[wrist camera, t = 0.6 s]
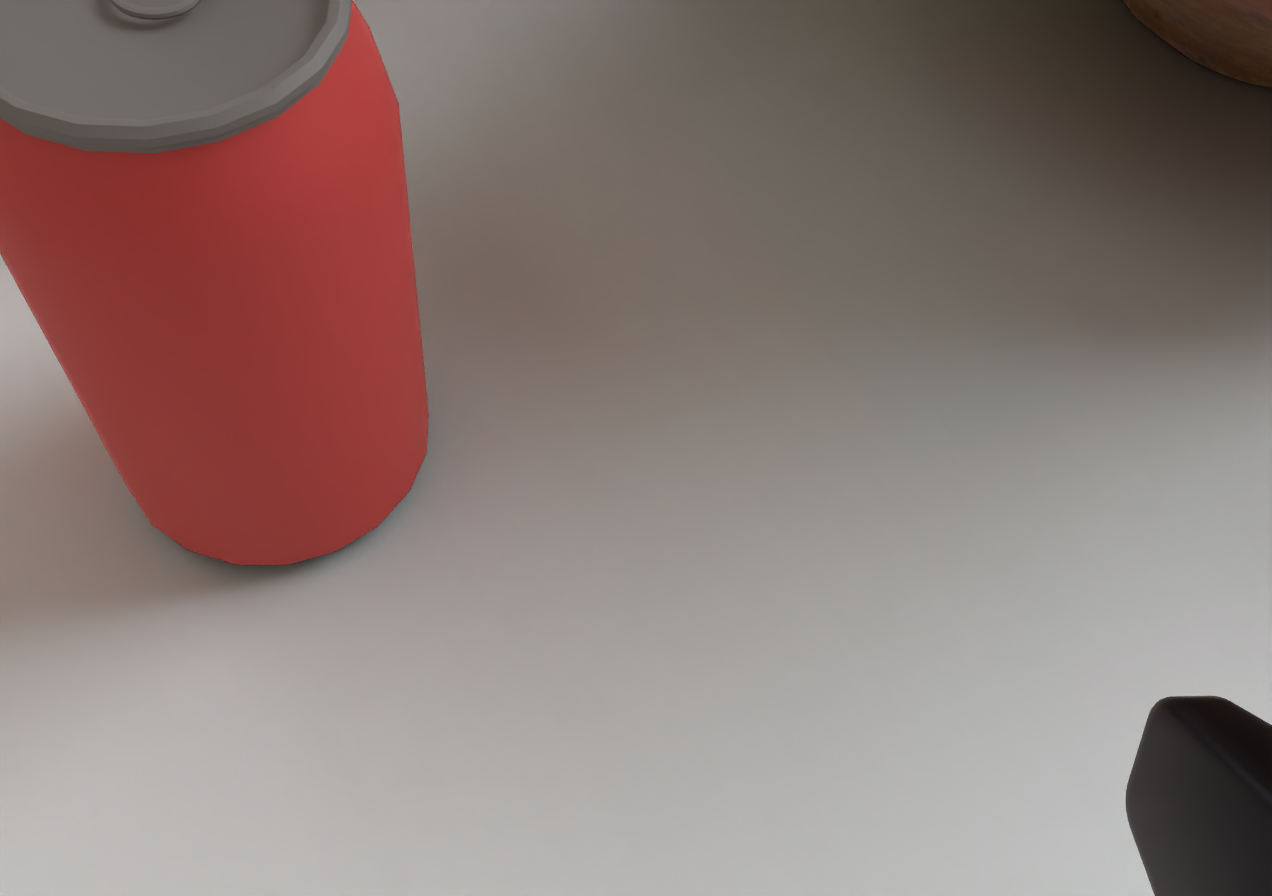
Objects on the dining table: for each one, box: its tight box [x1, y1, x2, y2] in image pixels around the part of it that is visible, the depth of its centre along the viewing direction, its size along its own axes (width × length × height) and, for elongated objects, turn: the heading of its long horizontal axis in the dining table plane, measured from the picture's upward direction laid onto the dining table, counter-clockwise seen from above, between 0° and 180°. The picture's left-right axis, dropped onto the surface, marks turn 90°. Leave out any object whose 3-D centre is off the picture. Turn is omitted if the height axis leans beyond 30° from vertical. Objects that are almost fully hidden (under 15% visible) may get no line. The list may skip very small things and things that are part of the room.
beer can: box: [0, 0, 429, 565], centre depth 21 cm, size 7×7×12 cm
